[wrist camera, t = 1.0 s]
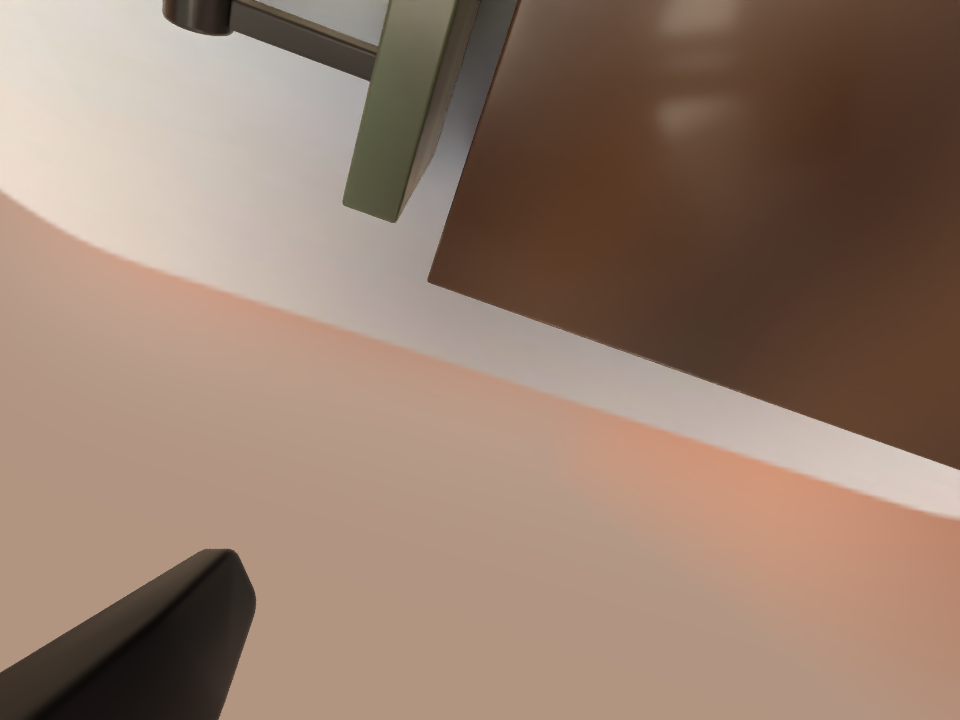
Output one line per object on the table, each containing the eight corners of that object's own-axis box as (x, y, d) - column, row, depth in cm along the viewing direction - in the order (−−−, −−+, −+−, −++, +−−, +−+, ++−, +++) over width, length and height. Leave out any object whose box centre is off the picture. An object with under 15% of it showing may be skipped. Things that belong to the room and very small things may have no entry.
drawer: (214, 76, 19) (118, 126, 15) (277, -472, 13) (151, -618, 9) (818, 298, 20) (874, 396, 16) (1105, -117, 14) (1291, -117, 11)
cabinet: (466, 180, 20) (425, 283, 15) (643, -350, 14) (676, -486, 9) (897, 338, 21) (997, 484, 16) (1237, -93, 15) (1578, -81, 10)
